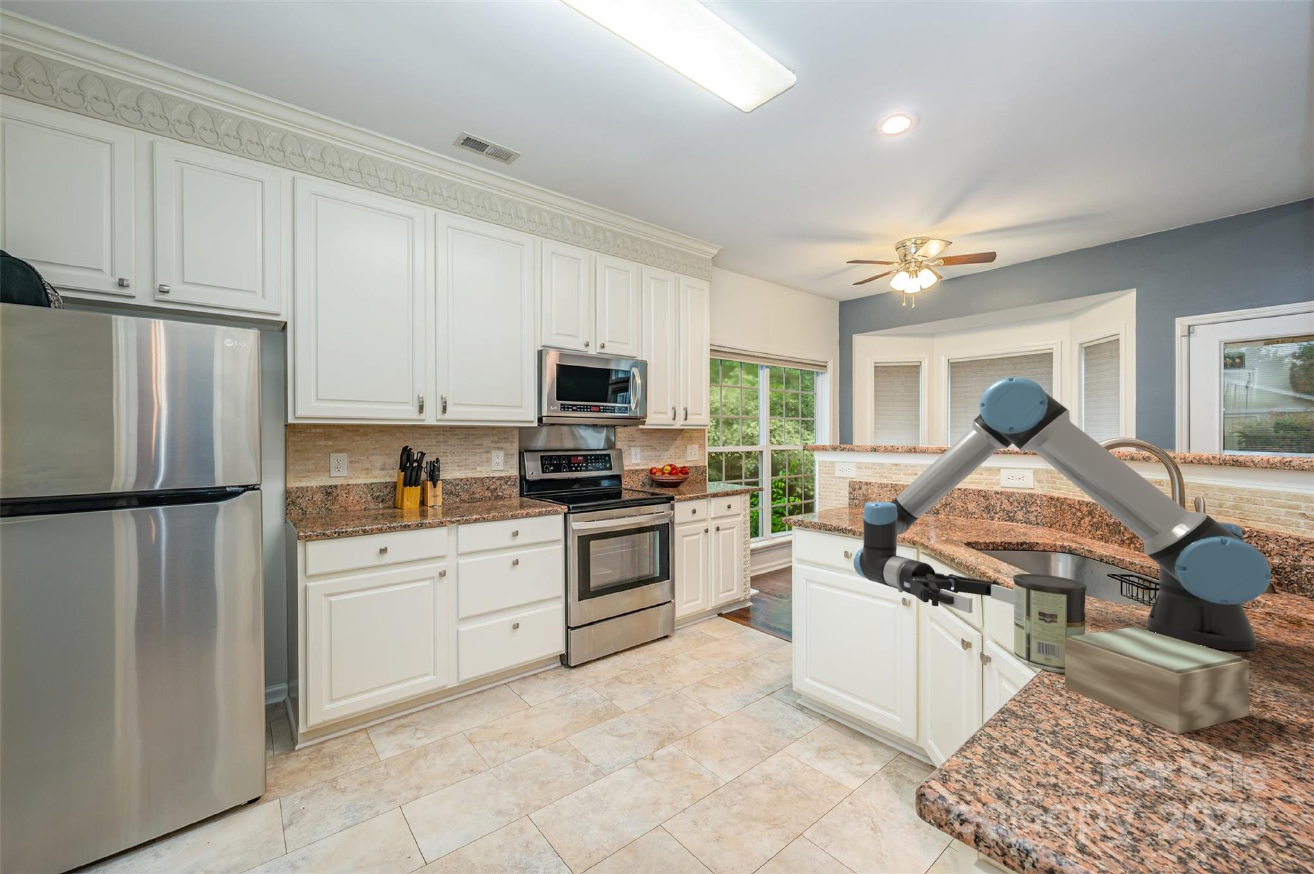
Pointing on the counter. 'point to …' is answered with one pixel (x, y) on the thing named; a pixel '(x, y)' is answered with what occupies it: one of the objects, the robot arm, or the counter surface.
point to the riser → (1158, 678)
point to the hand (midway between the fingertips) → (997, 602)
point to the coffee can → (1046, 618)
